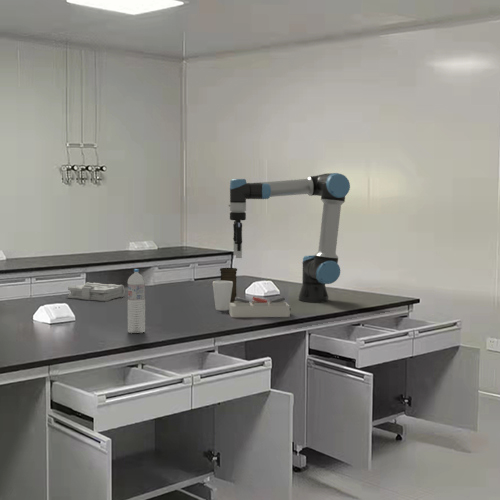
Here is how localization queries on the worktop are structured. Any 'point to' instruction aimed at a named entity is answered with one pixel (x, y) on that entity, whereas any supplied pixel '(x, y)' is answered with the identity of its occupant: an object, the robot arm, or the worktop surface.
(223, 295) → the foam cup
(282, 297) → the rocker
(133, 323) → the water bottle
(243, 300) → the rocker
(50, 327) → the worktop surface
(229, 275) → the container
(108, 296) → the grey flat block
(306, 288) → the robot arm
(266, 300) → the plate
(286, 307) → the switch panel
